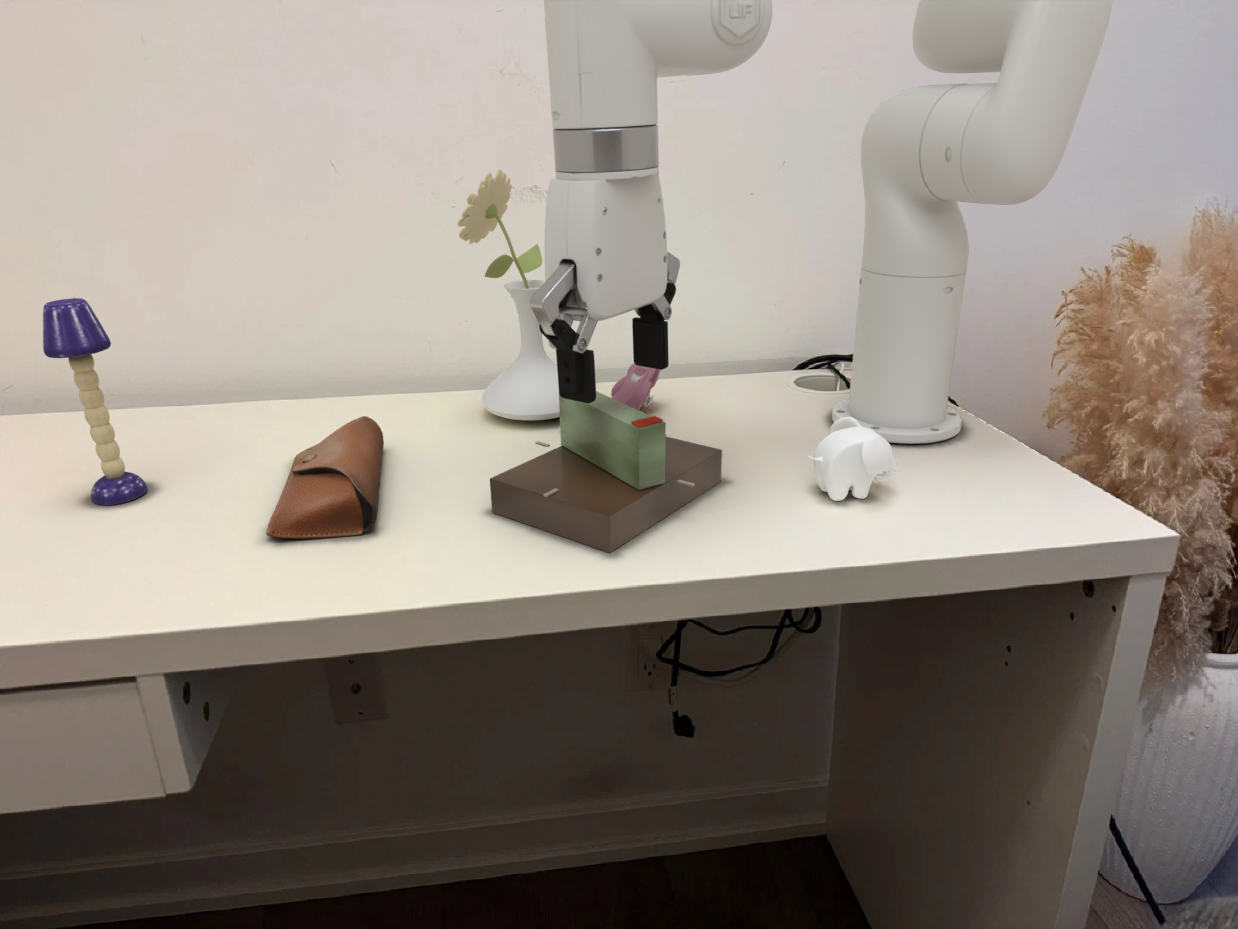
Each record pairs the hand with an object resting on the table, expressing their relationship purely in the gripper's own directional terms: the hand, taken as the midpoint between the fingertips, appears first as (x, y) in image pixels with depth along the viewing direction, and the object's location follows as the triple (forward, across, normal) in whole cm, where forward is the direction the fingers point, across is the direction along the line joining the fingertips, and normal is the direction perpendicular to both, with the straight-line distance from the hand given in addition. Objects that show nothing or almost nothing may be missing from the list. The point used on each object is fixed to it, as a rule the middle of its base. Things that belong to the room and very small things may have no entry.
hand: (616, 382), depth 68 cm
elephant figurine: (+11, -11, +16) cm, 22 cm away
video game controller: (+10, -17, -11) cm, 23 cm away
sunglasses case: (+9, +14, -20) cm, 26 cm away
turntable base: (+10, +1, 0) cm, 10 cm away
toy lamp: (+9, +25, -35) cm, 44 cm away
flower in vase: (+10, -11, -20) cm, 25 cm away
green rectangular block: (+7, +1, 0) cm, 7 cm away
